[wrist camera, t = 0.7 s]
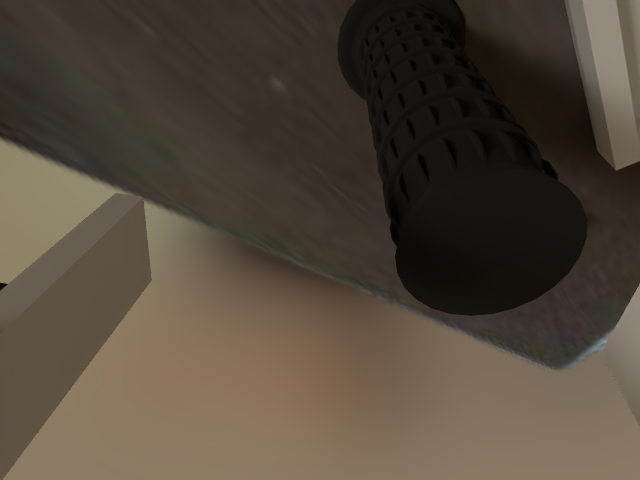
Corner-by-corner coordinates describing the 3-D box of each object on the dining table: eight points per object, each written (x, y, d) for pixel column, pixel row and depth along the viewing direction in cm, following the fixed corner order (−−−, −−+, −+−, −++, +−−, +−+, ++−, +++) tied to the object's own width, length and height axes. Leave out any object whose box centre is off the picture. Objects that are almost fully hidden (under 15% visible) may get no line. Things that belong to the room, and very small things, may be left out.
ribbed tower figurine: (380, 130, 42) (486, 61, 38) (437, 387, 21) (681, 292, 17) (312, 33, 37) (426, -56, 33) (298, 246, 16) (598, 71, 12)
